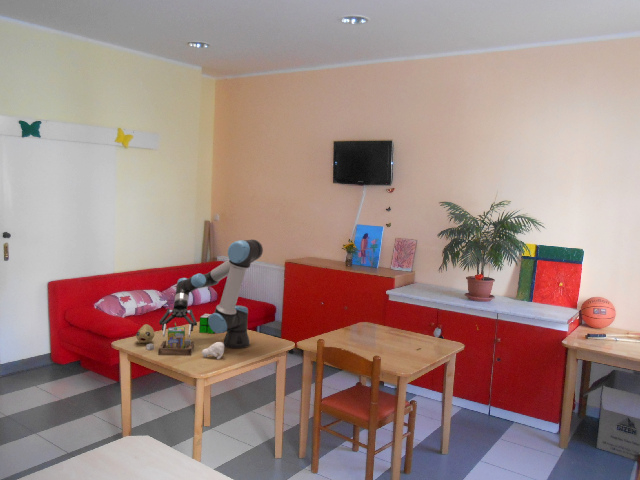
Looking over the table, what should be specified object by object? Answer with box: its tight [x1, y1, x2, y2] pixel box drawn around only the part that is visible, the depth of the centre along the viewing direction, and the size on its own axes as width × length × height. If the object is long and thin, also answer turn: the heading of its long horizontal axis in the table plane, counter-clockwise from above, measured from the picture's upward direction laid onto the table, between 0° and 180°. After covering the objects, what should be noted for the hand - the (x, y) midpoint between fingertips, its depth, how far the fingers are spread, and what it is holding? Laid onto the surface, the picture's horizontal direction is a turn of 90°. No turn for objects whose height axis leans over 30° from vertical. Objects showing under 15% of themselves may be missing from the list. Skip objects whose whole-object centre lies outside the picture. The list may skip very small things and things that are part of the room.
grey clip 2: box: [185, 338, 192, 346], centre depth 306 cm, size 3×3×2 cm
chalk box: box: [167, 322, 186, 348], centre depth 291 cm, size 9×9×15 cm
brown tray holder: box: [157, 340, 195, 356], centre depth 292 cm, size 15×17×3 cm
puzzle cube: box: [198, 313, 216, 335], centre depth 335 cm, size 10×10×10 cm
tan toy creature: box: [135, 323, 155, 344], centre depth 302 cm, size 10×12×11 cm
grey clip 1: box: [145, 343, 155, 351], centre depth 292 cm, size 3×3×2 cm
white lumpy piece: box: [201, 341, 225, 360], centre depth 283 cm, size 6×8×12 cm
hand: (176, 335), depth 289 cm, fingers open, 13 cm apart
